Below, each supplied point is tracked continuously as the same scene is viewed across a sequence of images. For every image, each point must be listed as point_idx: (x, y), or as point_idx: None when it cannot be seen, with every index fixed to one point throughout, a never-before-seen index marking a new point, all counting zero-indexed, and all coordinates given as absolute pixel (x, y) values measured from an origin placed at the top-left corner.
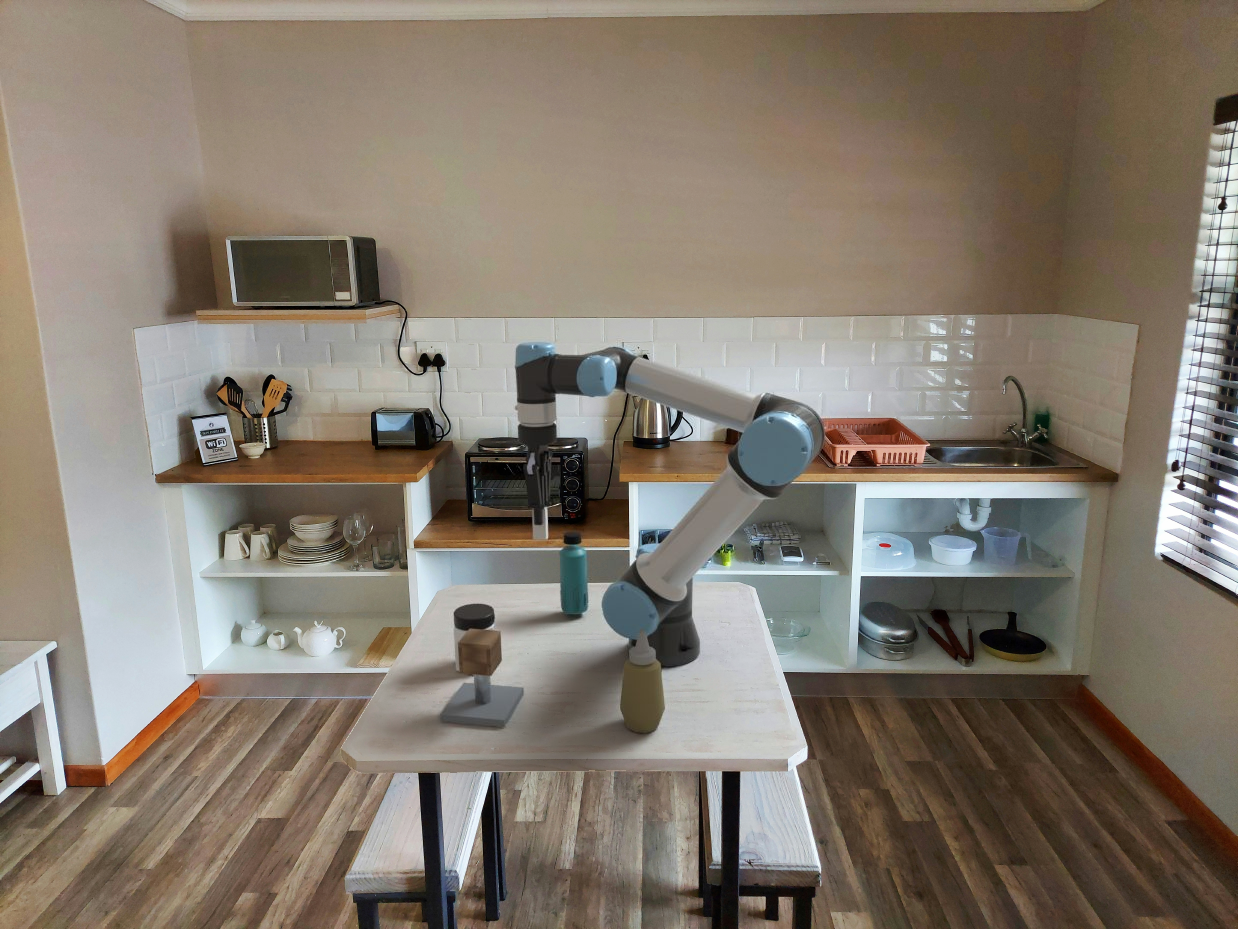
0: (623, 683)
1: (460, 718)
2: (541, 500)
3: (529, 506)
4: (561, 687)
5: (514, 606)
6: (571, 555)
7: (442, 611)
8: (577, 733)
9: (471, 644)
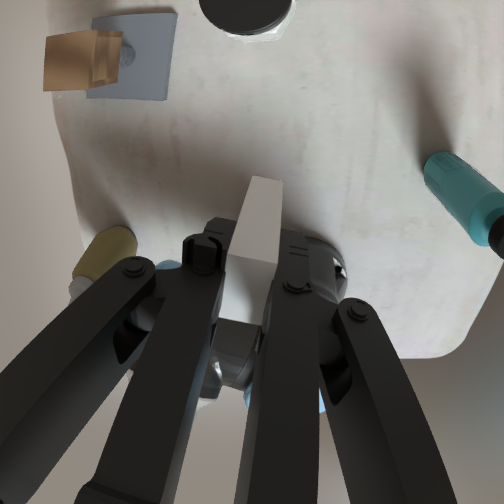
0: (87, 252)
1: None
2: (137, 351)
3: (116, 268)
4: (190, 147)
5: (480, 77)
6: (473, 217)
7: None
8: (95, 178)
9: (45, 59)
